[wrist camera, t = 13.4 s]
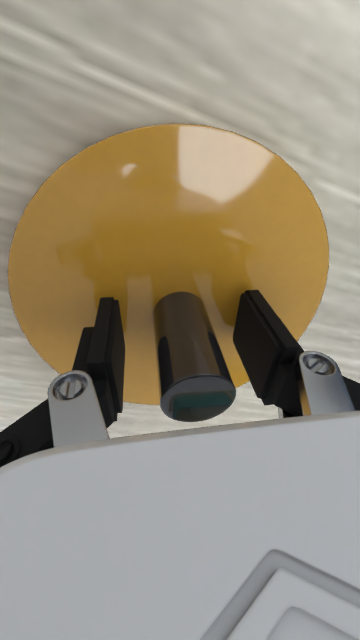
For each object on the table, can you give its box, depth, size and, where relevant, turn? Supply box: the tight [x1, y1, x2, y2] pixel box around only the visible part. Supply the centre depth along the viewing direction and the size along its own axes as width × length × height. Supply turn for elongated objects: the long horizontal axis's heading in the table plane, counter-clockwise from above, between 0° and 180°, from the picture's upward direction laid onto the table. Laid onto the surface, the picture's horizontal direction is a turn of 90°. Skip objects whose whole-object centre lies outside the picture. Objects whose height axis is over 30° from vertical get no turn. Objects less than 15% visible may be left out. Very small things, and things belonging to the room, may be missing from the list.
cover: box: [8, 123, 329, 422], centre depth 11 cm, size 15×15×6 cm
